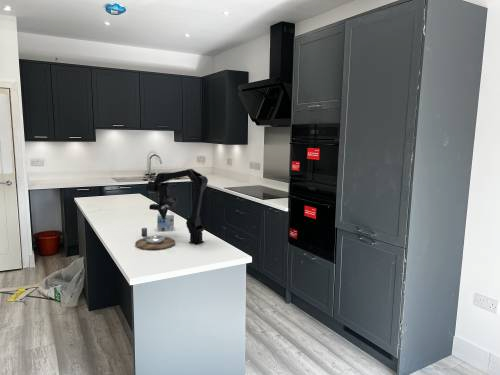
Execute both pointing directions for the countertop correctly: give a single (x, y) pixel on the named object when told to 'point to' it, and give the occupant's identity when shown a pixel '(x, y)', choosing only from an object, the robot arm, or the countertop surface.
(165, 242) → the dial base plate
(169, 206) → the robot arm
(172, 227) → the light bulb box
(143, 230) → the dial
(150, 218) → the countertop surface
